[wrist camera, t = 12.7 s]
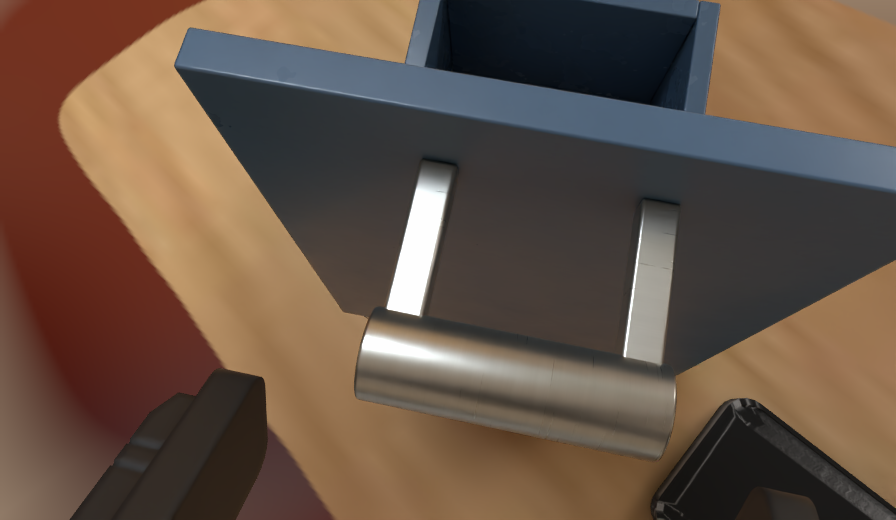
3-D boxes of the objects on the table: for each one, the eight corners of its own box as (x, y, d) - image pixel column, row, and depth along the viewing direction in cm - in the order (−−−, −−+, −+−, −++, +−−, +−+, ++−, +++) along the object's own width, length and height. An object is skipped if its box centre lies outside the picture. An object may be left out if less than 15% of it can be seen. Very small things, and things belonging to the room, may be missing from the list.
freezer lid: (187, 25, 11) (71, 325, 10) (992, 161, 10) (1005, 522, 9) (347, 292, 27) (312, 424, 26) (673, 358, 26) (658, 500, 25)
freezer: (441, 60, 40) (429, -43, 31) (664, 98, 39) (721, 2, 30) (380, 329, 37) (347, 304, 28) (620, 378, 36) (669, 369, 26)
